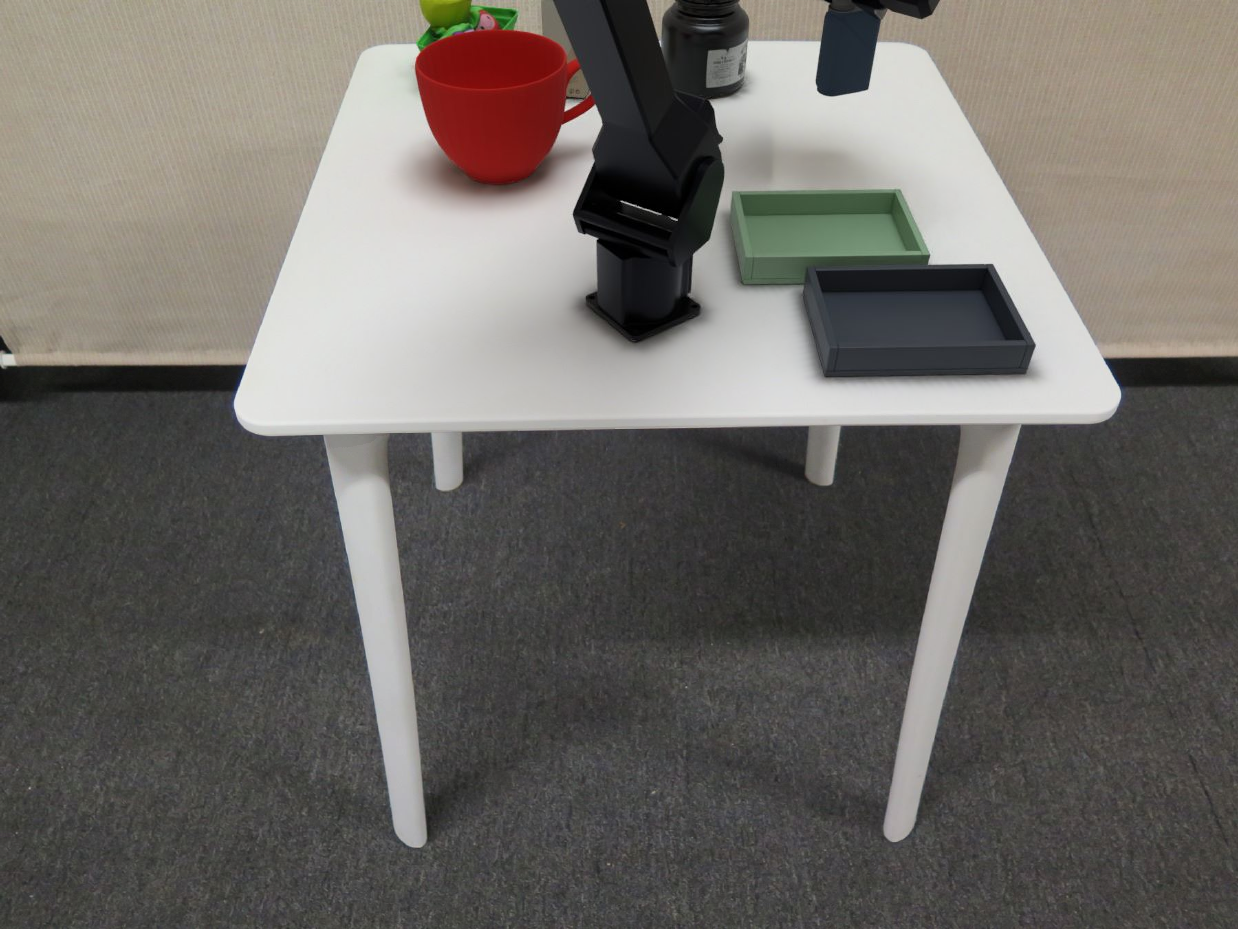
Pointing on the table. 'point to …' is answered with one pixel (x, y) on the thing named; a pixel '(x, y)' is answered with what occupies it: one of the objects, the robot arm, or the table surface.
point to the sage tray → (821, 232)
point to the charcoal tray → (915, 320)
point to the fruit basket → (461, 19)
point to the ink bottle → (705, 46)
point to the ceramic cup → (496, 100)
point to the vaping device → (846, 49)
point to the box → (557, 33)
